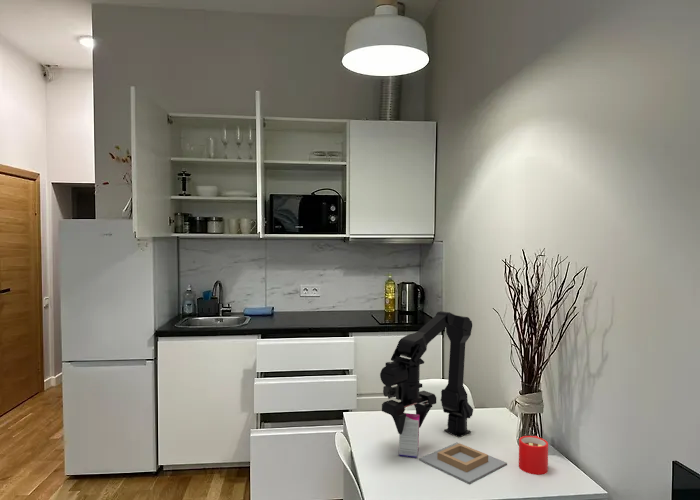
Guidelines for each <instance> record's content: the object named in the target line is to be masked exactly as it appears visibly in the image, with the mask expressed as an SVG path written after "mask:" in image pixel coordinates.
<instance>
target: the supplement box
mask: <svg viewBox="0 0 700 500" xmlns="http://www.w3.org/2000/svg"><path fill="white" fill-rule="evenodd" d="M404 414H406V419H405V423H404V428H403V432H402V434H399V439H398V457H399V458H410V459H417V458H418V455H419V446H420V445H419V440H420V428H419V419H420V415H419V414H416V413H407V412H404Z"/></svg>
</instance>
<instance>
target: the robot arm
mask: <svg viewBox="0 0 700 500" xmlns="http://www.w3.org/2000/svg"><path fill="white" fill-rule="evenodd" d="M444 330H445V333H446V335H447V337H448V339H449V341H450V344H449V345H450V346H449V363H448V375H447V376H448V377H447V378H448V380H447V385H446V386H445V388H444V389H441V392H440V393H441V397H440V402H441V406H442V411H443V413H445V414H448V416H447V417H448V418H447V428H446V429H444V431H443V432H446V433H448V434H450V435H452V436H455V437H459V438H461V437H464V436H465V435H468V434H470V433H471V432H472V431H471V430H469V429H468V419H471V417H472V416H473V413H474V409H473V407H472V406H471V405H470V404H469V402H468V400H469V399H468V393H467V391H466V389H465V386H464V378H465V377H464V376H465V375H464V374H465V359H466V358H465V357H466V356H465V355H466V343H467V341H468V340H469V338H470V337H471V335H472V334H471V333H472V330H473V322H472V320H471V318H470V317H468V316H462V315H456V314H454V313H452V312H449V311H443V310H441V311H437V312H436V313H435V316H434V317H432V318H431V319H430V320H429V321H428V322H426V323H425V324H424V325H423V326H422V327H420V328H419V329H418V330H417V331H416V332H413V333H409V334H407V335H404V336H403V337H401V338H400V339H399V340H398V342H397V345H396V347H395V349H394V351H393V353H392V354H391V358H390V361H386V362H385V366H384V367H382V369H381V371H380V373H379V376H380V377H379V378H380V380H381V382H382V384H383V385H384V386H383V388H382V389H383V390H382V392H383V396H384V397H385V398H386V397H387V399H388V400H387V401H383V402H382V404H381V412H383V413H385V414H388V415H390V416H391V418H392V420H393V422H394V424H395V427H396V430H397V434H399V435H400V434H402V432H403V428H404V423H405V419H406V414H404V413H405V408H408V407H411V406H414V408H415V414H419V415H420V419H419V429H420V428H421V427H422V424H423V422H424V420H425V419H426V417H427V415H428V413H429V412H430V410H431V408H433V405H435V404H437V396H436V394H435V393H433V392H430V391H429V392H428V391H426V390H421V391H420V388H423V383H420V378H421V377H420V372H421V371H420V367H421V366H420V365H423V364H425V361H424V359H422V357H423V356H424V354H425V353H426V352H427V349H428V344H430V342H431V341H432V340H434V339H435V338H436V337H437V336H438V335H440V333H441V332H442V331H444ZM392 398H395V400H393V399H392ZM389 399H390V400H389Z"/></svg>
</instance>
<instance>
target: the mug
mask: <svg viewBox="0 0 700 500" xmlns="http://www.w3.org/2000/svg"><path fill="white" fill-rule="evenodd" d="M548 465H549V442H548V441H547V440H546V439H544V438H542V437H539V436H538V435H523V436H521V437H519V440H518V468H519V469H520V470H521V472H524V473H526V474H530V475H533V476H534V475H538V476H540V475H546V474H547V473H548V471H549V466H548Z"/></svg>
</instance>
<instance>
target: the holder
mask: <svg viewBox="0 0 700 500" xmlns="http://www.w3.org/2000/svg"><path fill="white" fill-rule="evenodd" d="M418 461H419V462H422V463H424V464H426V465H428V466H431V467H432V468H435V470H436V469H437V470H439V471H441V472H443V473H444V474H447V475H449V476H451V477H453V478H456V479H458V480H460V481H462V482H464V483H466V484H467V485H471V484H473V483H474V482H477V481H478V480H481V479H482V478H484V477H486V476H487V475H490V474H491V473H493V472H495V471H498V470H500V469H501V468H504V467H505V466H507V465H508V463H507V462H506V461H504V460H502V459H499V458H496V457H494V456H493V455H489V454H487V453H485V452H482V451H479V450H477V449H475V448H472V447H469V446H467V445H465V444H463V443H460V442H455V443H453V444H450V445H447V446H445V447H442V448H440V449H438V450H435V451H433V452H430V453H429V454H426V455H423V456H421V457H419V458H418Z"/></svg>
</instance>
